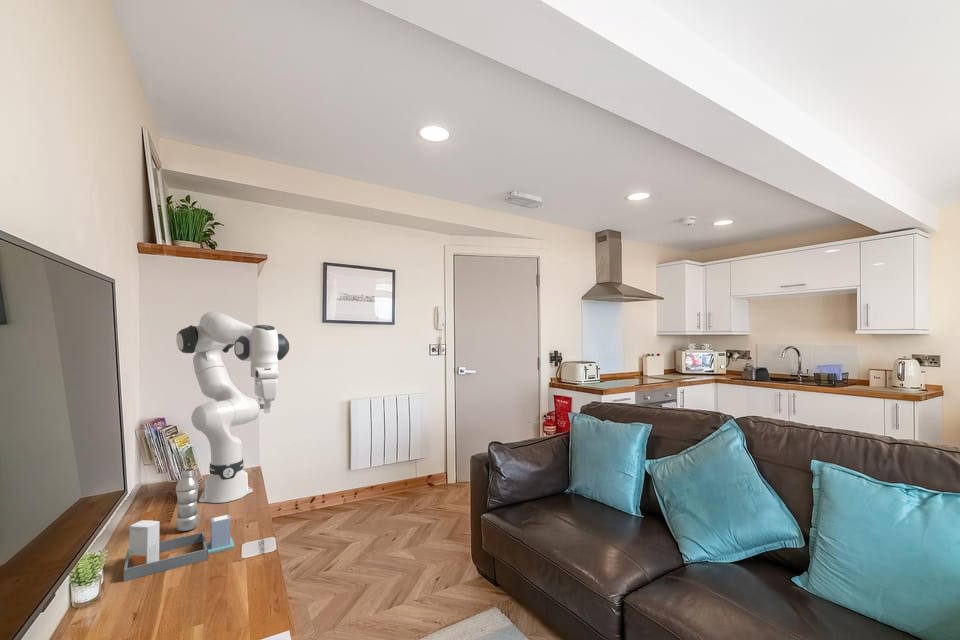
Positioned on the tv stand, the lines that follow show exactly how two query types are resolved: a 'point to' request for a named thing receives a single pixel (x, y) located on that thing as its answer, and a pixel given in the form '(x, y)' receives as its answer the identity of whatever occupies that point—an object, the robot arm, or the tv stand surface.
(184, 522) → the plastic bottle
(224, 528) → the slate box
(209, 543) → the pad
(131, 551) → the skincare box
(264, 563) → the tv stand surface
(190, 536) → the bin
